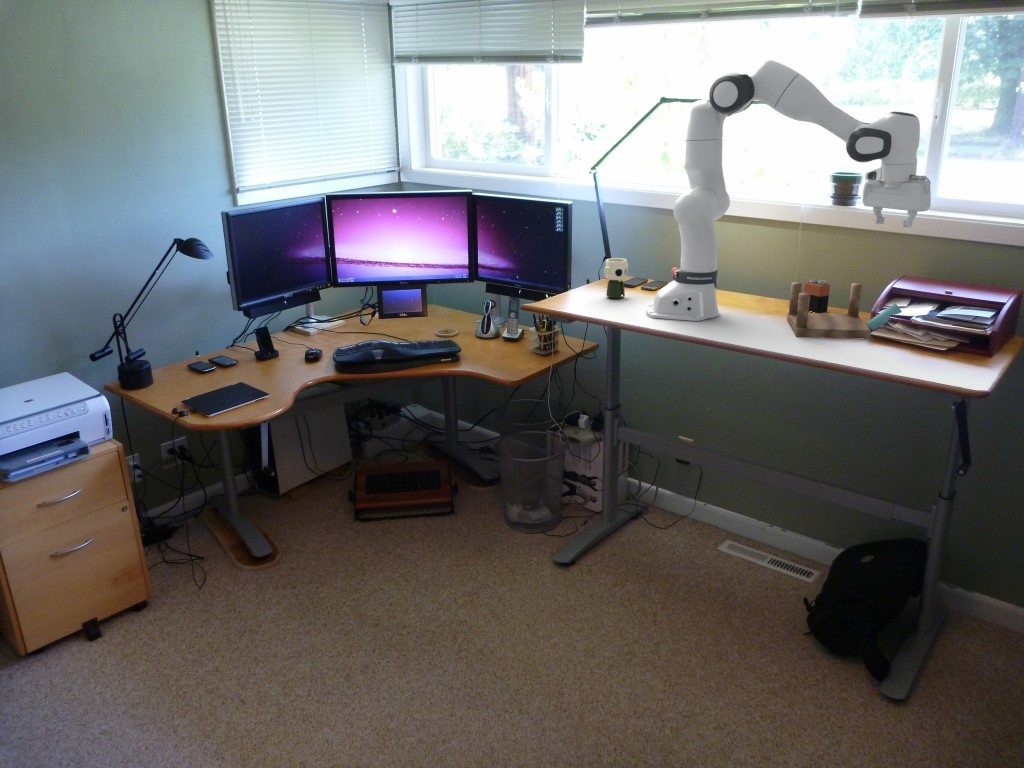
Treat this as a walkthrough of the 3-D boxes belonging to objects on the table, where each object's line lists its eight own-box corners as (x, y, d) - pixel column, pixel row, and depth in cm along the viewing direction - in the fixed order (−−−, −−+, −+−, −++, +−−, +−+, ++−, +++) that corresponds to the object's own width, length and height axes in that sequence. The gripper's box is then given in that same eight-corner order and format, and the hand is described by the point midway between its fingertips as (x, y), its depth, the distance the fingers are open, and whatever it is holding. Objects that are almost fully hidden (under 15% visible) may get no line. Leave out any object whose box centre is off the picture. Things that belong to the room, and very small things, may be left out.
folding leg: (867, 324, 234) (896, 304, 231) (865, 321, 237) (893, 302, 234) (874, 332, 235) (903, 312, 232) (871, 329, 238) (900, 310, 235)
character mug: (611, 302, 280) (612, 263, 276) (596, 298, 285) (597, 260, 281) (634, 296, 286) (635, 259, 282) (619, 293, 291) (620, 256, 287)
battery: (818, 314, 261) (821, 283, 258) (800, 310, 266) (804, 279, 263) (827, 312, 263) (831, 281, 260) (810, 308, 268) (813, 277, 265)
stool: (796, 336, 238) (800, 295, 234) (786, 320, 255) (790, 281, 251) (870, 339, 235) (875, 297, 231) (855, 322, 252) (860, 282, 248)
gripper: (939, 175, 220) (933, 228, 224) (877, 171, 238) (873, 220, 242) (922, 177, 217) (916, 230, 222) (860, 173, 235) (856, 222, 240)
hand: (893, 225), depth 232 cm, fingers open, 8 cm apart
